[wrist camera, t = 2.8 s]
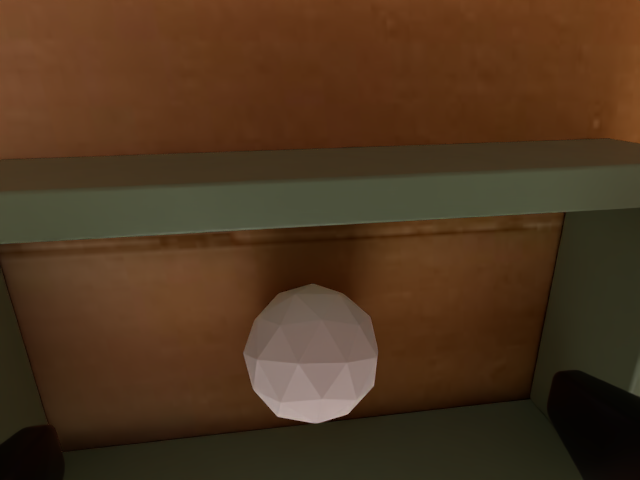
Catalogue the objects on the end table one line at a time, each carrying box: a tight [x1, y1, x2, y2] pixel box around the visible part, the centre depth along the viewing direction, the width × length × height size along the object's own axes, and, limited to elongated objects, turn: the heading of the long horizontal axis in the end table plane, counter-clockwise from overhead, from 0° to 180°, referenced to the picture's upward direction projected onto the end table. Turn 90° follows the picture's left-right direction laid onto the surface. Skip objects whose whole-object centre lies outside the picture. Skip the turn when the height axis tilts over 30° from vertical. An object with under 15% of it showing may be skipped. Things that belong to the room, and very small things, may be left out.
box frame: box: [0, 139, 640, 480], centre depth 9 cm, size 15×8×3 cm, turn 91°
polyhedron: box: [243, 284, 378, 423], centre depth 9 cm, size 3×3×3 cm
